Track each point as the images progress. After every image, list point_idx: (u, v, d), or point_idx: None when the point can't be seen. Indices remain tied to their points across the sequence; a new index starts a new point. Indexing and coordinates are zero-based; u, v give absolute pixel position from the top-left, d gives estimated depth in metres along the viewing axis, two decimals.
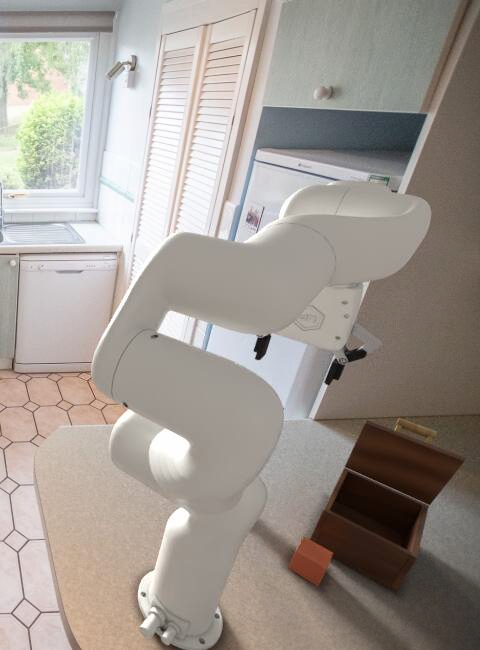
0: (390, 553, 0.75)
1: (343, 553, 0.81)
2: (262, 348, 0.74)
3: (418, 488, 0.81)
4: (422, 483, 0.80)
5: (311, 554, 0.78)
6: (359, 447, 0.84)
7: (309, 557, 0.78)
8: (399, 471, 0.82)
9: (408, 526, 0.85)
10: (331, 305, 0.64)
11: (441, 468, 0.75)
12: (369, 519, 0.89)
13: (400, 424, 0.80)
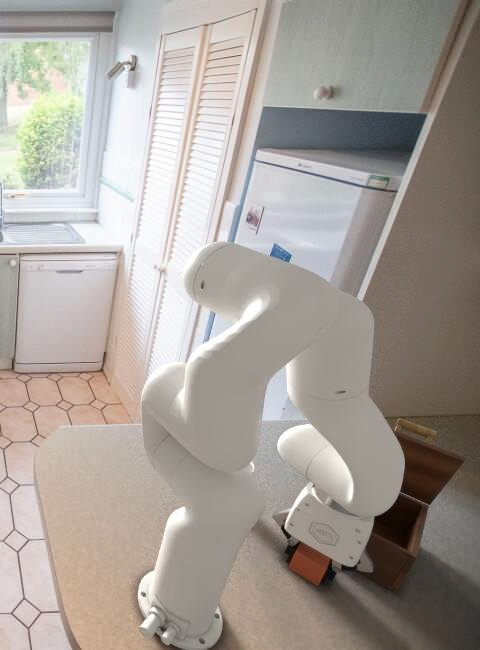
0: (390, 553, 0.75)
1: None
2: (293, 555, 0.80)
3: (418, 488, 0.81)
4: (422, 483, 0.80)
5: (311, 554, 0.78)
6: None
7: (309, 557, 0.78)
8: None
9: (408, 526, 0.85)
10: (345, 530, 0.71)
11: (441, 468, 0.75)
12: None
13: (400, 424, 0.80)
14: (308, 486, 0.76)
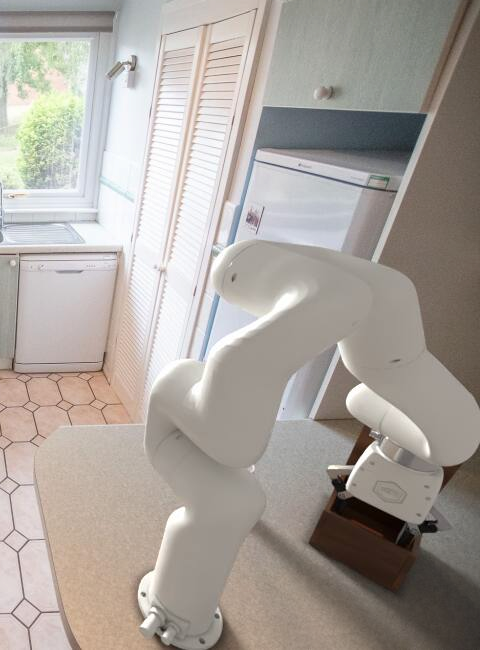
0: (390, 553, 0.75)
1: (343, 553, 0.81)
2: (344, 508, 0.81)
3: None
4: None
5: None
6: (359, 447, 0.84)
7: None
8: None
9: None
10: (413, 486, 0.71)
11: None
12: (369, 519, 0.89)
13: None
14: (372, 445, 0.76)
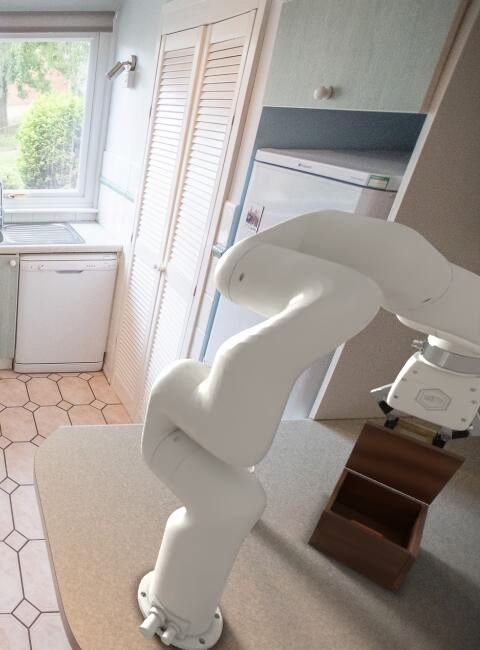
0: (390, 553, 0.75)
1: (343, 553, 0.81)
2: None
3: (418, 488, 0.81)
4: (422, 483, 0.80)
5: None
6: (359, 447, 0.84)
7: None
8: (399, 471, 0.82)
9: (408, 526, 0.85)
10: (458, 391, 0.71)
11: (441, 468, 0.75)
12: (369, 519, 0.89)
13: (400, 424, 0.80)
14: (415, 355, 0.76)
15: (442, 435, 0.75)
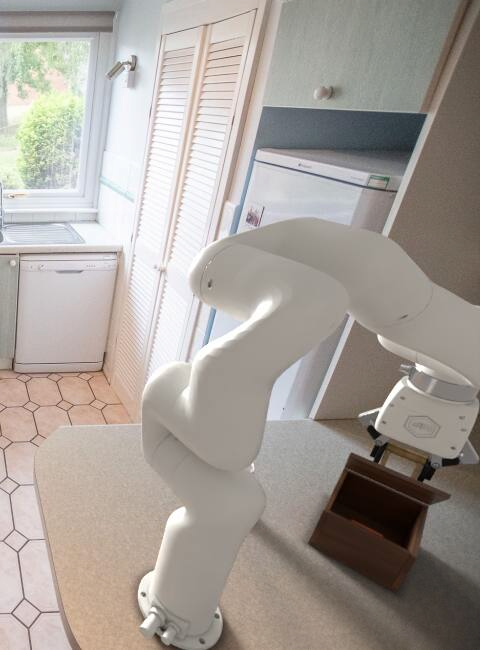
0: (390, 553, 0.75)
1: (343, 553, 0.81)
2: (380, 455, 0.78)
3: (415, 496, 0.81)
4: (417, 495, 0.79)
5: None
6: (351, 464, 0.84)
7: None
8: (393, 484, 0.81)
9: (408, 526, 0.85)
10: (447, 418, 0.69)
11: (430, 495, 0.74)
12: (369, 519, 0.89)
13: (389, 450, 0.77)
14: (402, 380, 0.73)
15: (432, 462, 0.73)
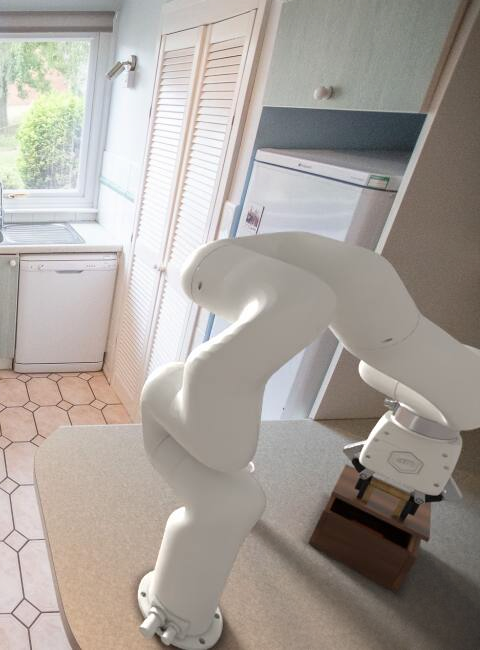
0: (390, 553, 0.75)
1: (343, 553, 0.81)
2: (365, 489, 0.77)
3: None
4: None
5: None
6: None
7: None
8: None
9: None
10: (430, 455, 0.68)
11: None
12: (369, 519, 0.89)
13: (372, 486, 0.77)
14: (386, 415, 0.73)
15: (415, 498, 0.72)
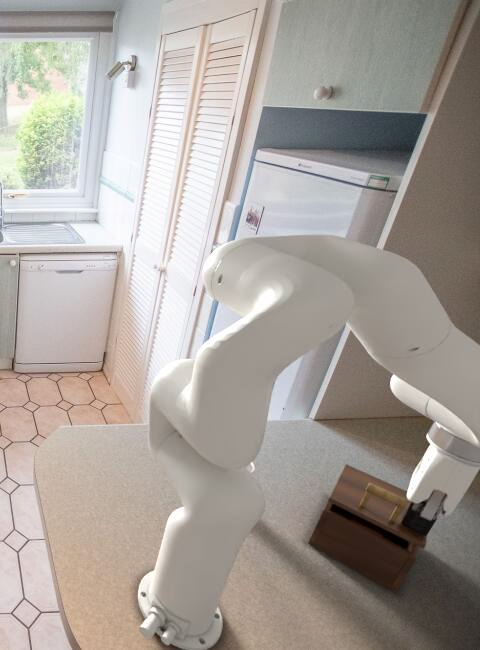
0: (390, 553, 0.75)
1: (343, 553, 0.81)
2: None
3: None
4: None
5: None
6: None
7: None
8: None
9: None
10: (425, 459, 0.69)
11: None
12: None
13: (369, 492, 0.77)
14: None
15: (414, 503, 0.73)
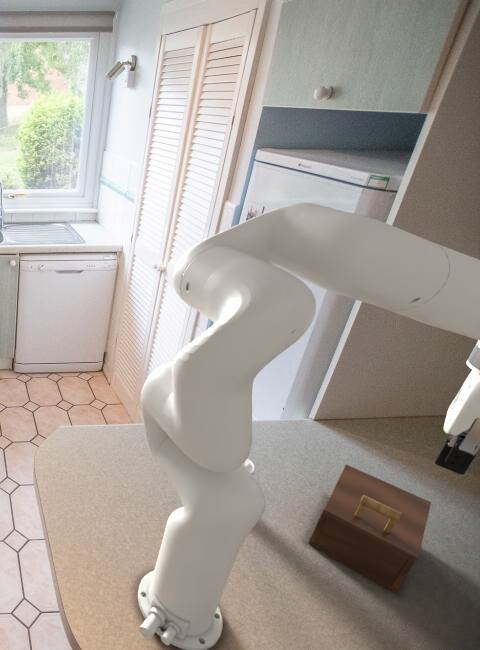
0: (390, 553, 0.75)
1: (343, 553, 0.81)
2: None
3: None
4: None
5: None
6: None
7: None
8: None
9: None
10: (465, 387, 0.63)
11: None
12: None
13: (363, 504, 0.77)
14: None
15: None
